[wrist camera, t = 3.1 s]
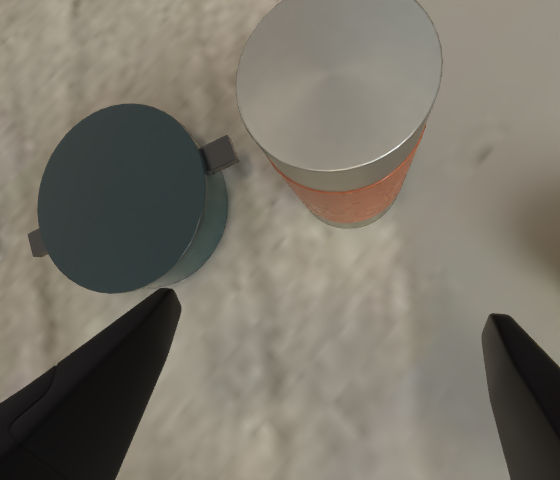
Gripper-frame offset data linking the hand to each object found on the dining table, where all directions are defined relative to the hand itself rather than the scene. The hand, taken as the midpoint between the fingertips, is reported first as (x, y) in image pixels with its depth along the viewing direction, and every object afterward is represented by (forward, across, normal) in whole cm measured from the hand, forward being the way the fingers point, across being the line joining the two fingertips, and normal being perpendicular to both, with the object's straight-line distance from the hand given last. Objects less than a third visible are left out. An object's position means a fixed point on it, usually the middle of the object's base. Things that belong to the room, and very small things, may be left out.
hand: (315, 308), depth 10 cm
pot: (+13, +15, +6) cm, 21 cm away
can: (+15, 0, +4) cm, 15 cm away
